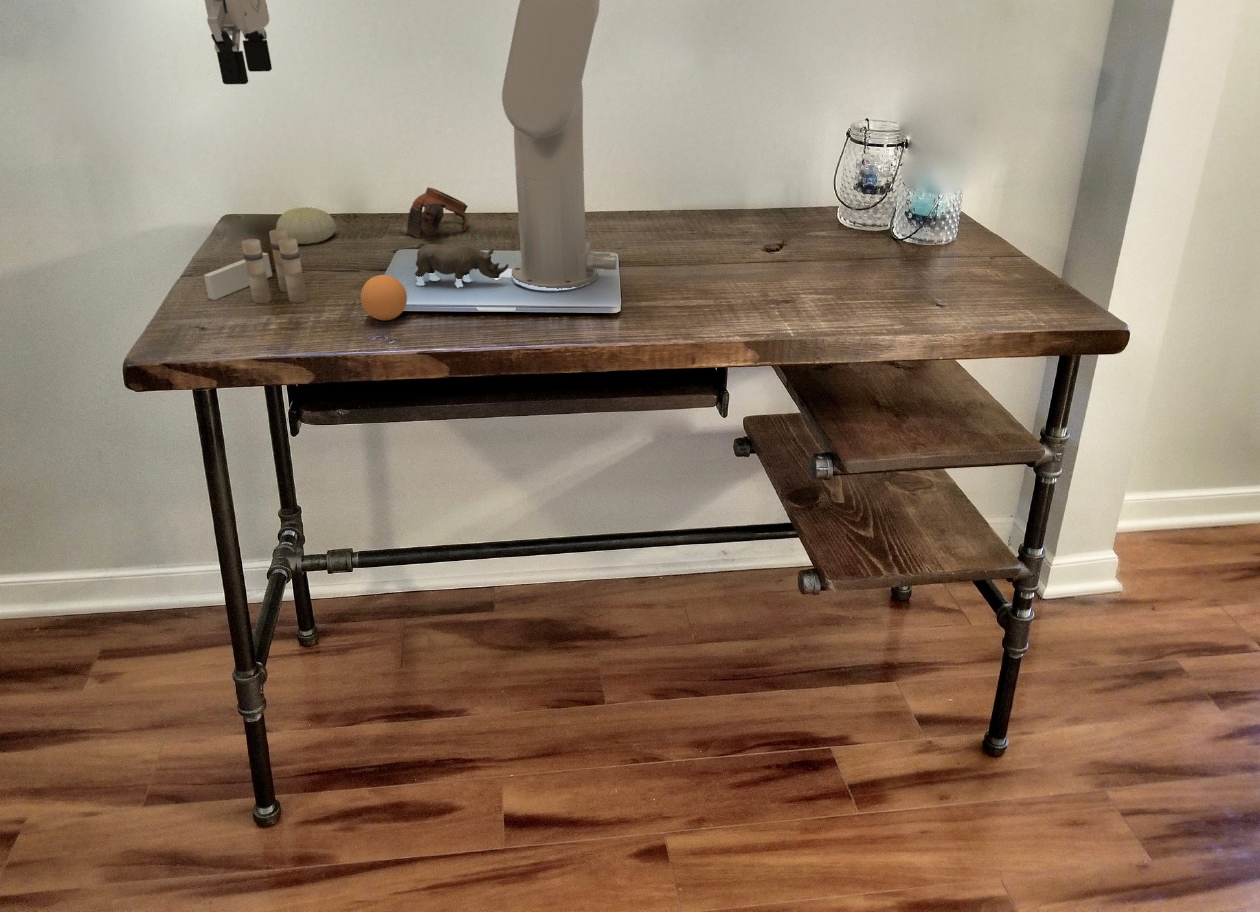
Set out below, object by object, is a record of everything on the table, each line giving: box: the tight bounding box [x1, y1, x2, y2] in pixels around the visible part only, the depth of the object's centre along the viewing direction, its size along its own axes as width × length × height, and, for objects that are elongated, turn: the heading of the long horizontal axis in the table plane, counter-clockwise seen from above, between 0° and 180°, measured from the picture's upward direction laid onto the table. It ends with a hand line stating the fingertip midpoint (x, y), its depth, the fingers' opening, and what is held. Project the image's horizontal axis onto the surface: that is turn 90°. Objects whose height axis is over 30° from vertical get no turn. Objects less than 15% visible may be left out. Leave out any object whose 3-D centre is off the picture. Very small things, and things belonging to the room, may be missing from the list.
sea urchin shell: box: [275, 206, 337, 245], centre depth 170 cm, size 9×8×8 cm
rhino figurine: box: [414, 244, 509, 280], centre depth 150 cm, size 4×14×6 cm, turn 84°
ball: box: [360, 274, 408, 321], centre depth 138 cm, size 6×6×6 cm
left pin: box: [240, 238, 272, 304], centre depth 144 cm, size 2×2×8 cm
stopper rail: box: [203, 251, 273, 301], centre depth 150 cm, size 1×11×4 cm, turn 151°
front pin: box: [278, 238, 308, 304], centre depth 144 cm, size 2×2×8 cm
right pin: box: [268, 228, 288, 293], centre depth 148 cm, size 2×2×8 cm
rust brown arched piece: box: [406, 186, 468, 240], centre depth 171 cm, size 12×10×8 cm
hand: (248, 77), depth 140 cm, fingers open, 9 cm apart
